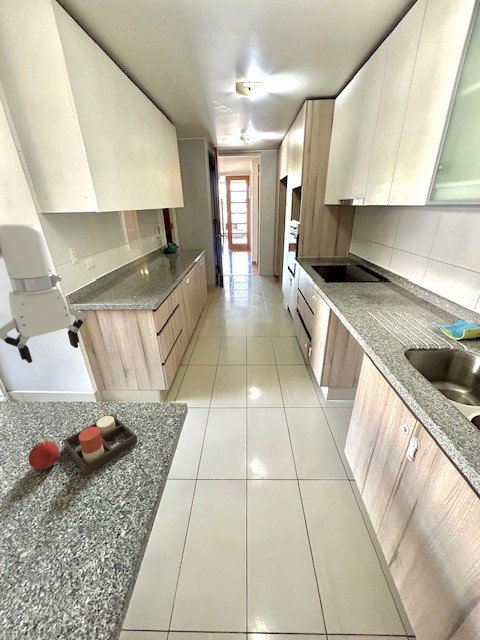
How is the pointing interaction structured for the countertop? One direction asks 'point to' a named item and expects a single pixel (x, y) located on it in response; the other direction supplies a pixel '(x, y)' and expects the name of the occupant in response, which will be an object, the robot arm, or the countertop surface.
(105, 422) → the token
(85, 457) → the cylinder
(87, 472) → the divided brown tray
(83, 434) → the cylinder
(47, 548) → the countertop surface
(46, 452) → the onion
